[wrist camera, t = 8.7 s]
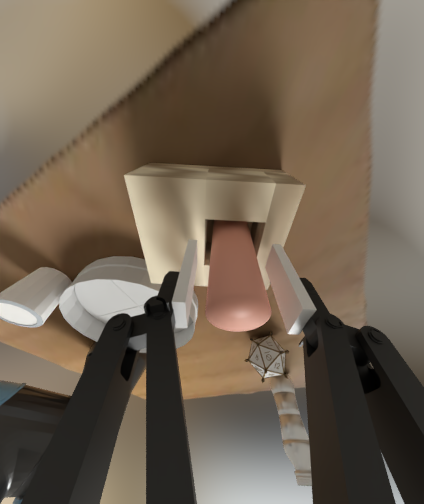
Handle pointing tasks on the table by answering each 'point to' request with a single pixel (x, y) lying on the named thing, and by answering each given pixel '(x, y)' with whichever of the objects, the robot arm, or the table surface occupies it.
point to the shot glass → (33, 297)
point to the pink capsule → (235, 280)
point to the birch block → (208, 211)
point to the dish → (114, 296)
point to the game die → (267, 357)
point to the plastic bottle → (292, 428)
